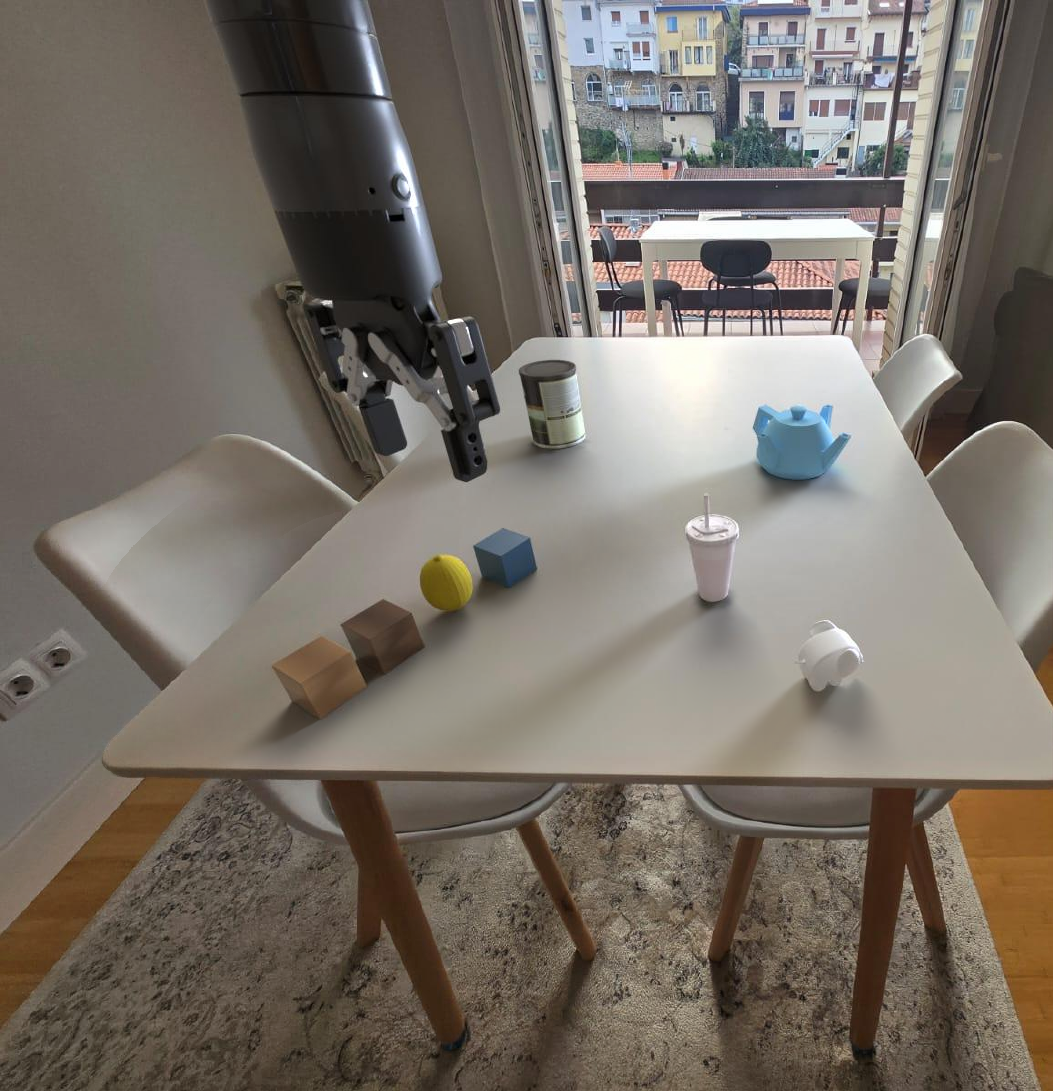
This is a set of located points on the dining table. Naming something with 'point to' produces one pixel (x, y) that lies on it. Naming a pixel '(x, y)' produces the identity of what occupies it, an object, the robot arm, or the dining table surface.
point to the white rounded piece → (828, 655)
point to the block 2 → (383, 636)
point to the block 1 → (320, 676)
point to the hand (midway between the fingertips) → (431, 463)
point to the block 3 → (505, 557)
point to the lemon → (446, 582)
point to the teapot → (796, 442)
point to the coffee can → (553, 403)
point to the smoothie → (712, 552)
